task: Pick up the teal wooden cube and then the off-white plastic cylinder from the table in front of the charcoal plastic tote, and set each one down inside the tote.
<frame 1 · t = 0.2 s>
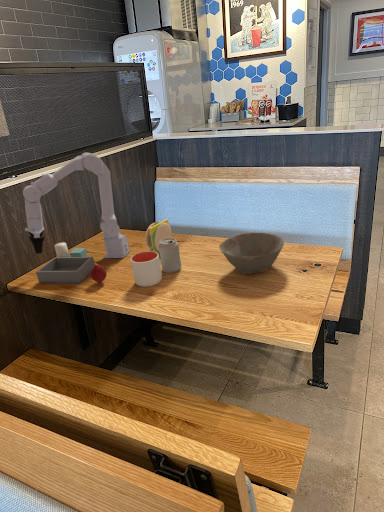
hand: (38, 250, 157), 11 cm above the table, tool pointing down, fingers open, 7 cm apart
cylinder: (64, 259, 174), on the table
hamburger: (160, 249, 171), on the table
tote: (68, 275, 157), on the table
ceramic bowl: (253, 269, 143), on the table
cup: (149, 282, 144), on the table
onion: (100, 283, 148), on the table
can: (172, 269, 151), on the table
cube: (80, 261, 170), on the table
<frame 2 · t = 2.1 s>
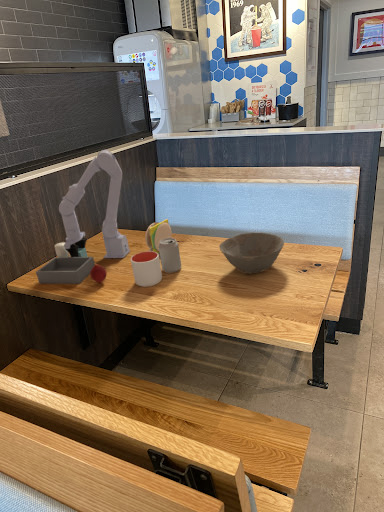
hand: (79, 257, 169), 1 cm above the table, tool pointing down, fingers closed on cube, 5 cm apart
cube: (80, 260, 170), on the table, touching gripper
everything else where it was.
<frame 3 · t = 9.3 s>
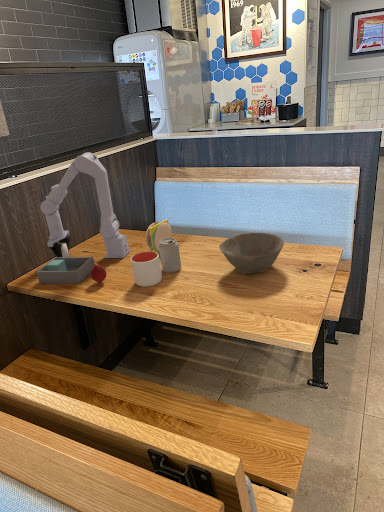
hand: (63, 255, 173), 2 cm above the table, tool pointing down, fingers closed on cylinder, 5 cm apart
cylinder: (64, 259, 174), on the table, touching gripper
cube: (58, 273, 158), point 1 cm above the table, touching tote
everything else where it was.
when the fingers open (4 cm above the table, at t = 14.5 s): cylinder drops 2 cm, resting on tote.
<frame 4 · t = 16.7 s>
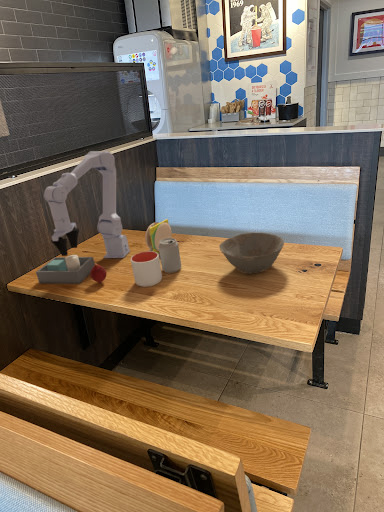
hand: (69, 251, 152), 10 cm above the table, tool pointing down, fingers open, 7 cm apart
cylinder: (75, 273, 156), point 1 cm above the table, touching tote
everything else where it was.
at the end: cube inside the target area on the tote (4.1 cm from its centre), point 0.8 cm above the tote's base; cylinder inside the target area on the tote (3.4 cm from its centre), point 0.8 cm above the tote's base; cylinder tilted 0° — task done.
